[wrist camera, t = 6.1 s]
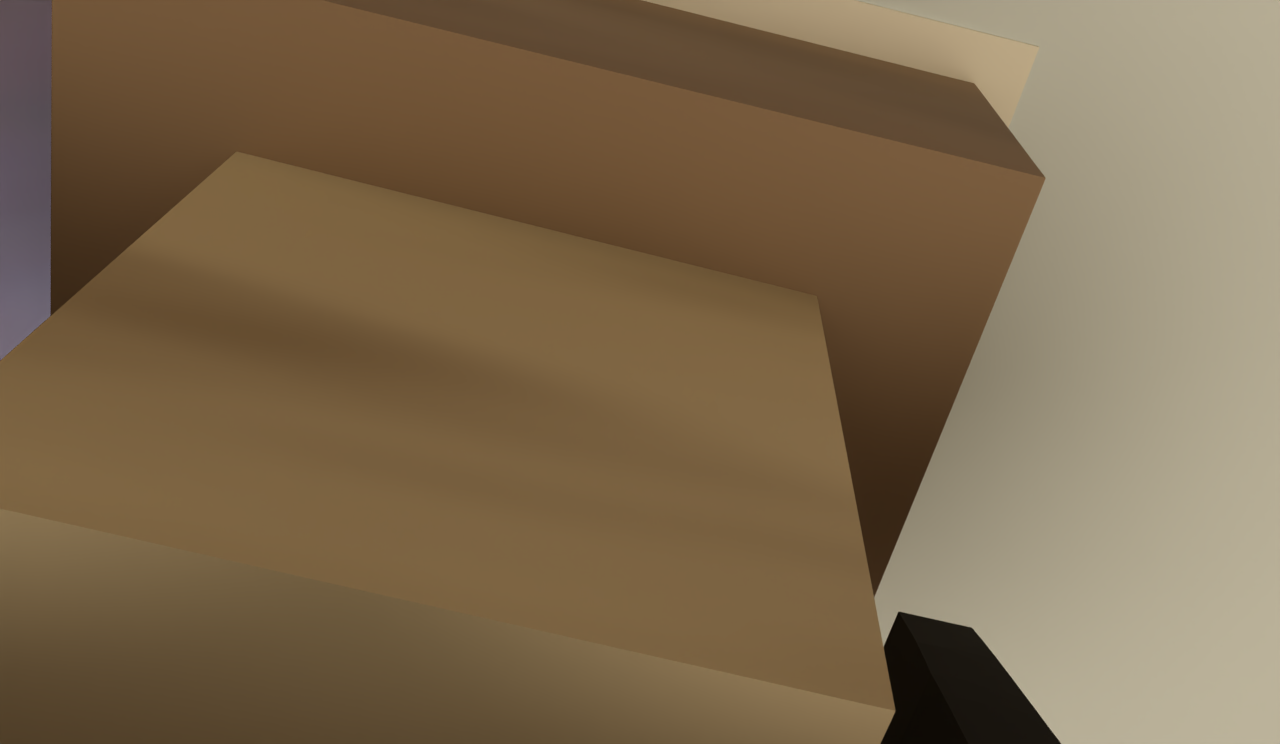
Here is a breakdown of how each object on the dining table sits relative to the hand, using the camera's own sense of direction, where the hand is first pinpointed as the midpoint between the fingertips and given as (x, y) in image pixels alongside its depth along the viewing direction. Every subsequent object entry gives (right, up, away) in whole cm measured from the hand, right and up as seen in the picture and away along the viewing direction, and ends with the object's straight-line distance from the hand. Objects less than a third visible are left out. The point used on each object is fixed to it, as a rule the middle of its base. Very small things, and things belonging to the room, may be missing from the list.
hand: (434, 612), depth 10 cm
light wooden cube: (0, +1, +2) cm, 2 cm away
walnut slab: (0, +2, +4) cm, 5 cm away
